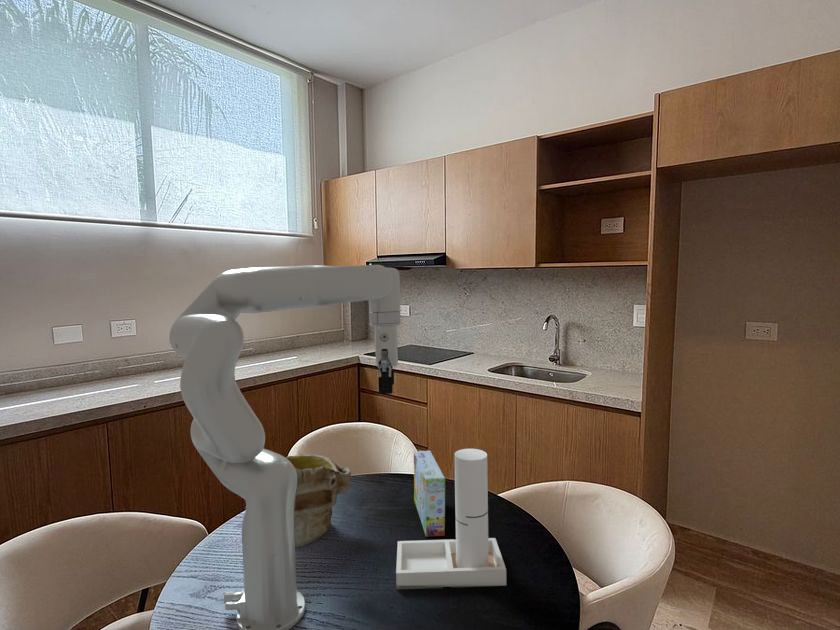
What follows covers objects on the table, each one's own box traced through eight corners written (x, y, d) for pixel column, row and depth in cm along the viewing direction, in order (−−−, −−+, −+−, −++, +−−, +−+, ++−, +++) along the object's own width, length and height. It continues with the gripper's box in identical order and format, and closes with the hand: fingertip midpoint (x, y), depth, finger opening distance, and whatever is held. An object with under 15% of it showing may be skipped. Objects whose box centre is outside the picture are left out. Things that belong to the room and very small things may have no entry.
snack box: (447, 536, 114) (446, 477, 113) (425, 538, 113) (424, 479, 112) (431, 498, 135) (430, 448, 134) (412, 500, 134) (411, 450, 133)
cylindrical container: (487, 576, 96) (486, 461, 94) (454, 572, 97) (452, 459, 96) (489, 557, 103) (488, 449, 101) (458, 553, 104) (456, 447, 103)
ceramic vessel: (330, 468, 137) (344, 418, 122) (349, 548, 121) (368, 501, 106) (251, 482, 127) (256, 429, 112) (261, 571, 111) (268, 523, 96)
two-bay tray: (396, 589, 94) (396, 573, 93) (398, 555, 106) (397, 541, 105) (506, 585, 94) (506, 569, 94) (495, 552, 106) (495, 537, 106)
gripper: (399, 321, 100) (401, 397, 101) (401, 316, 117) (402, 381, 118) (366, 321, 100) (368, 397, 101) (372, 317, 117) (374, 382, 118)
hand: (386, 389), depth 109 cm, fingers open, 9 cm apart
